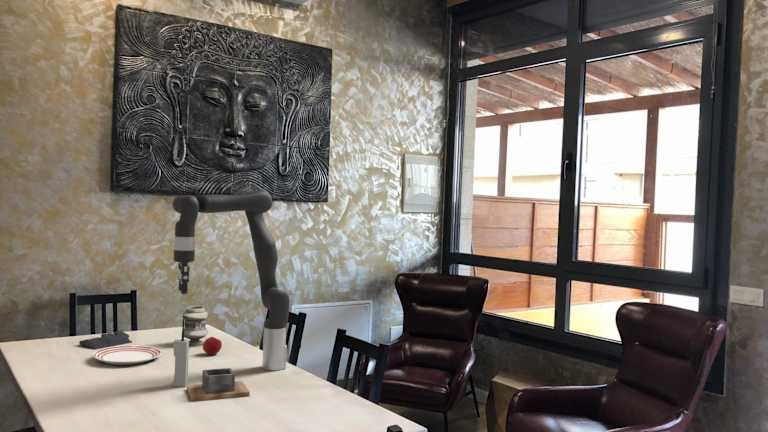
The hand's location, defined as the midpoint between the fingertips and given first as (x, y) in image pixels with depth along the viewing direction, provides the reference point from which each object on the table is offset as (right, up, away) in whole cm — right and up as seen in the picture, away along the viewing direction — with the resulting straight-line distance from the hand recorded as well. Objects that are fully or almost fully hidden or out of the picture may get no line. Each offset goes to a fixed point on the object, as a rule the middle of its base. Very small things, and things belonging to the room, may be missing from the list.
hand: (182, 292), depth 225 cm
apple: (-3, -34, +47) cm, 58 cm away
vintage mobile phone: (-1, -35, 0) cm, 35 cm away
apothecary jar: (-16, -34, +65) cm, 75 cm away
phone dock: (+15, -36, -6) cm, 39 cm away
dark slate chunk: (-56, -32, +60) cm, 88 cm away
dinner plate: (-35, -34, +34) cm, 59 cm away
